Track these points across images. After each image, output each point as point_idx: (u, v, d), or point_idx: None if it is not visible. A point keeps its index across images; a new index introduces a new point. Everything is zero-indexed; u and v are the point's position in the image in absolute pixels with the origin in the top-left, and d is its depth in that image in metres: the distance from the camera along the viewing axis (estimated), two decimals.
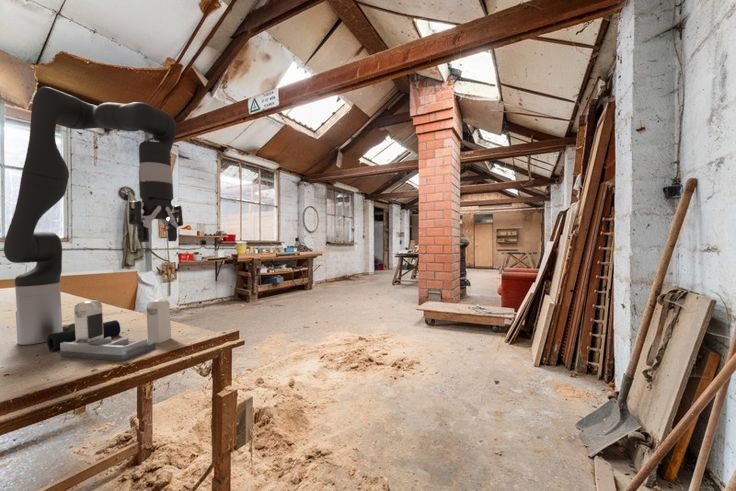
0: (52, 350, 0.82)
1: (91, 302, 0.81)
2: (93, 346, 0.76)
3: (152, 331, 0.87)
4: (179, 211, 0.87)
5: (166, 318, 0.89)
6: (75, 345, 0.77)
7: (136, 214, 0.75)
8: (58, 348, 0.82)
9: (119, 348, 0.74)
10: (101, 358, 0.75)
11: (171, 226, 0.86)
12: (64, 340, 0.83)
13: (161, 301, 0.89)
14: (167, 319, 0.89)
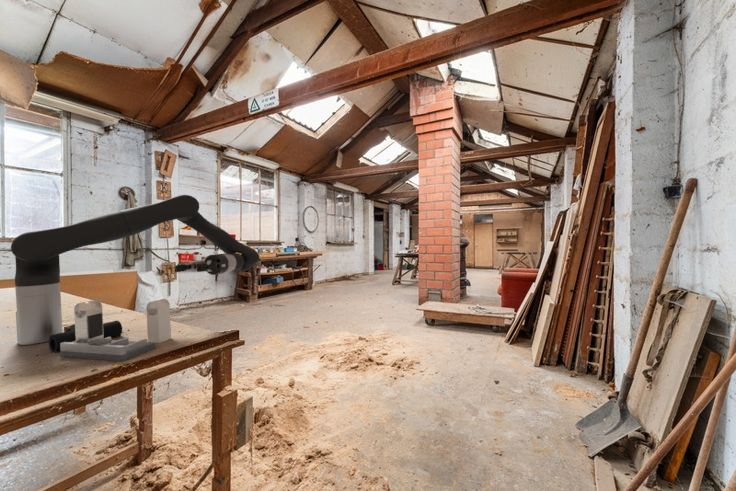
0: (54, 351, 0.81)
1: (91, 302, 0.81)
2: (93, 346, 0.76)
3: (152, 331, 0.87)
4: None
5: (166, 318, 0.89)
6: (75, 345, 0.77)
7: (219, 269, 1.04)
8: (60, 349, 0.81)
9: (119, 348, 0.74)
10: (101, 358, 0.75)
11: (186, 267, 1.04)
12: (66, 341, 0.82)
13: (161, 301, 0.89)
14: (167, 319, 0.89)
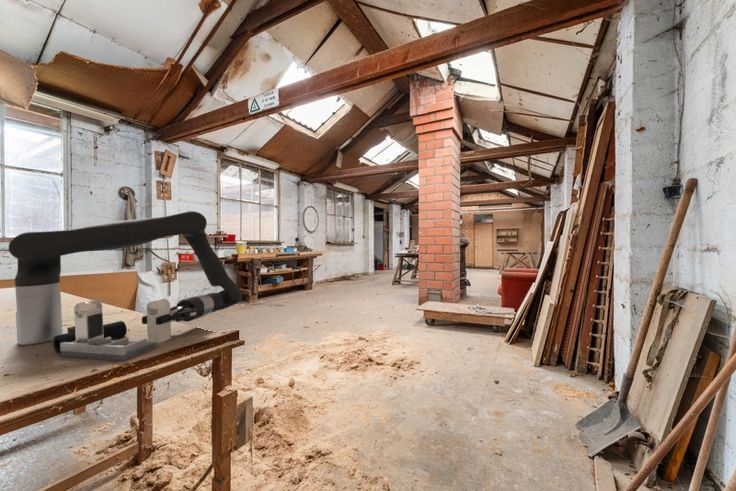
0: (59, 352, 0.80)
1: (91, 302, 0.81)
2: (93, 346, 0.76)
3: (152, 331, 0.87)
4: None
5: None
6: (75, 345, 0.77)
7: (185, 319, 0.91)
8: None
9: (119, 348, 0.74)
10: (101, 358, 0.75)
11: None
12: (71, 341, 0.81)
13: (161, 301, 0.88)
14: None
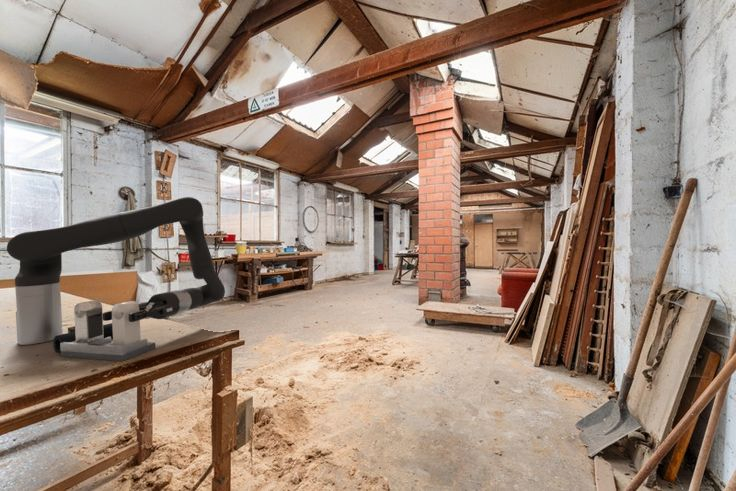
0: (59, 351, 0.81)
1: (91, 302, 0.81)
2: (93, 346, 0.76)
3: (118, 337, 0.77)
4: None
5: (134, 323, 0.79)
6: (75, 345, 0.77)
7: (162, 315, 0.82)
8: None
9: (119, 348, 0.74)
10: (101, 358, 0.75)
11: None
12: (71, 341, 0.81)
13: (129, 303, 0.79)
14: (136, 324, 0.80)
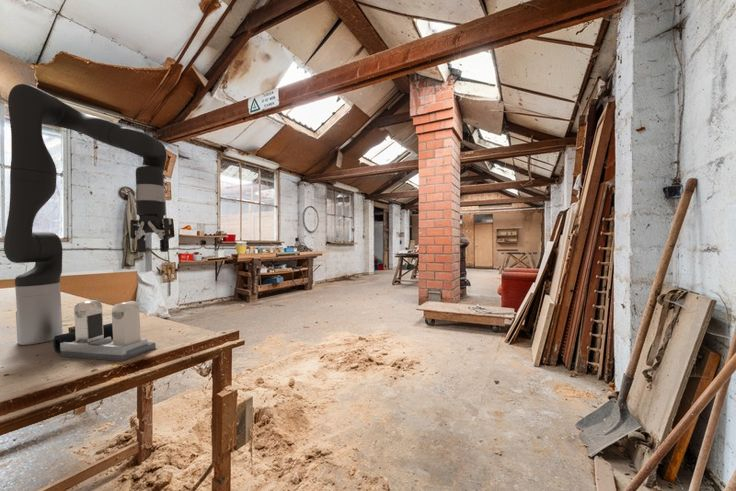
0: (59, 351, 0.81)
1: (91, 302, 0.81)
2: (93, 346, 0.76)
3: (118, 337, 0.77)
4: None
5: (134, 323, 0.79)
6: (75, 345, 0.77)
7: (173, 229, 0.94)
8: None
9: (119, 348, 0.74)
10: (101, 358, 0.75)
11: (142, 238, 0.95)
12: (71, 341, 0.81)
13: (129, 303, 0.79)
14: (136, 324, 0.80)
